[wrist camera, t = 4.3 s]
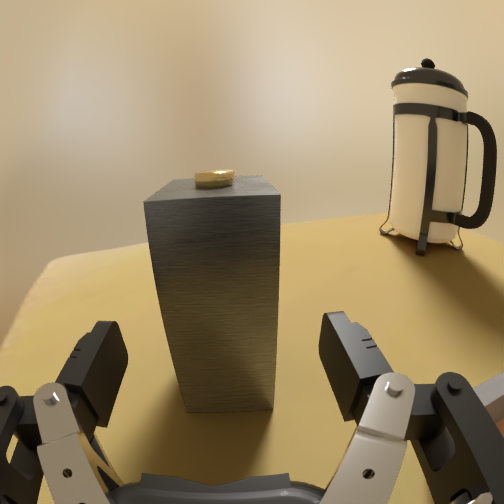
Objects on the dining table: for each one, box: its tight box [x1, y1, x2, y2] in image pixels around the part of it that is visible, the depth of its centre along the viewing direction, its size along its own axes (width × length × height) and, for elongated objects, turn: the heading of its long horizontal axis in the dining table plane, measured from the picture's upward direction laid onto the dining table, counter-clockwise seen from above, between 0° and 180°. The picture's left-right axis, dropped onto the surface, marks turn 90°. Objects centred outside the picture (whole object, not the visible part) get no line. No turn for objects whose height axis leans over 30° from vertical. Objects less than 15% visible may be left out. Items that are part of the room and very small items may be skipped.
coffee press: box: [380, 59, 497, 255], centre depth 34 cm, size 17×16×30 cm
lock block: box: [144, 170, 281, 413], centre depth 15 cm, size 5×6×13 cm
